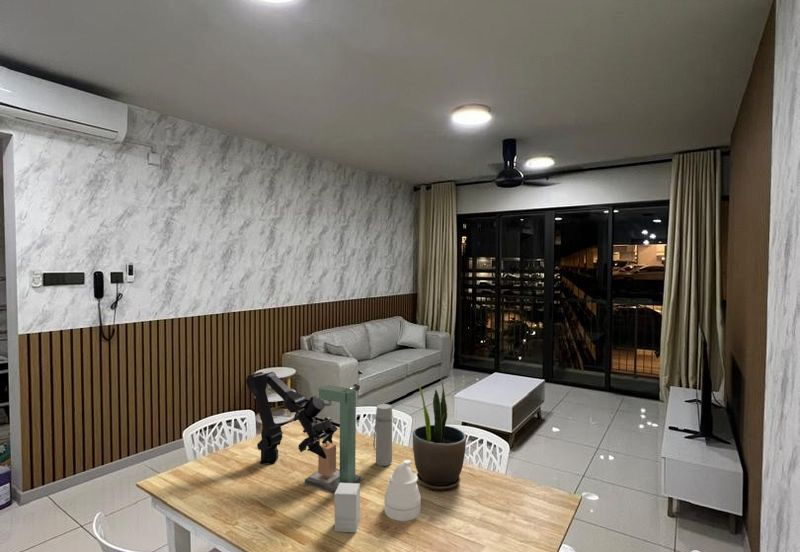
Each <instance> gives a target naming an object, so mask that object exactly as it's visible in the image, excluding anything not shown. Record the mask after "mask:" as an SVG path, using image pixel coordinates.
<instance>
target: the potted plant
mask: <svg viewBox="0 0 800 552" xmlns="http://www.w3.org/2000/svg"><path fill="white" fill-rule="evenodd" d="M415 383H416V384H417V385H418V388H419V393H420V396H421V399H422V407H423V415H424V423H425V425H421V426H419V427H417V428H414V430H413V431H412V451H413V460H414V465H415V469H416V471H417V474H416V475H417V477H418V480H417V482H418V483H419V485H420V486H422V488H423V487H424V488H425V489H427V490H429V491H434V492H443V493H444V492H449V491H452V490H454V489H455V488H457V487H458V485H459V483H460V482H461V476H460V475H461V473H462V470H463V466H464V462H465V456H466V455H465V453H466V448H467V447H466V446H467V435H466V434H465V432H464V431H462V430H461V429H459V428H457V427H453V426H449V425H447V419H448V404H447V401H446V393H445V388H444V387H445V386H444V381H442V383H441V387H442V389H441V390H442V392H441V399H440V395H439V393H438V391H437V390H438V389H436V388H435V389H434V395H433V399H432V407H433V415H434V416H433V417H434V424H431V419H430V415H429V411H428V409H427V406H426V403H425V398H424V394H423V390H422V388H421V385H420V383H419V382H418V381H417V380H415Z"/></svg>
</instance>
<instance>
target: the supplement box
mask: <svg viewBox="0 0 800 552" xmlns="http://www.w3.org/2000/svg"><path fill="white" fill-rule="evenodd" d="M333 493H334V492H333ZM333 495H334V496H333V497H334V532H339V533H340V532H342V533H357V531H358V528H359V524H360V521H361V484H360V483H339V485H338V487H337V489H336V491H335V493H334V494H333Z"/></svg>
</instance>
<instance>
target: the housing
mask: <svg viewBox="0 0 800 552" xmlns="http://www.w3.org/2000/svg"><path fill="white" fill-rule="evenodd" d="M320 446H321V448H322V449H323V451H324V453H325V455H326V457H327V458H326V459H324V458H322V457H320V456H319V455H317V457H318V459H317V460H318V464H317V465H318V468H317V471H318V474H321V475H324V476H330V475H331V474H333V473H334V472H336V469H337V444H335V443H333V444H332V443H329V441H326V443H324V444H323V443H321V444H320Z"/></svg>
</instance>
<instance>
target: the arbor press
mask: <svg viewBox="0 0 800 552" xmlns="http://www.w3.org/2000/svg"><path fill="white" fill-rule="evenodd" d="M360 389H361V386H360V384H359V383H354V384H353V385H352V386H351V387H349V388H348V387H344V386H338V385H332V384H327V385H324V386H322V387H319V388H318V398H320V399H321V400H323V405H324V406H325V407H329V406H332V405H333V402H335V403H339V469H337V468H336V472H334V473H333V474H331V475H330V476H324V475H321V474H318V470H317V471H315V472H314V473H312V474H311V475H309V476H308V477H306V478H305V479H304V484H308V485H311V486H313V487H316V488H319V489H323V490H324V491H325V490H326V491H329V492H331V493H335V491H336V489H337V487H338V485H339V483H357V484H359V482H361V481H362V476H361V475H359V474H356V452H357V451H356V441H357V440H356V432H357V430H356V429H357V427H356V426H357V425H356V423H357V419H356V416H357V413H356V411H357V407H356V405H357V399H356V398H357V397H356V396H357V392H358V391H360Z"/></svg>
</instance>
